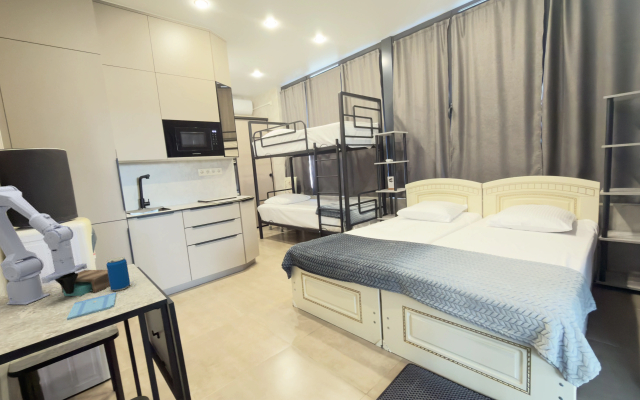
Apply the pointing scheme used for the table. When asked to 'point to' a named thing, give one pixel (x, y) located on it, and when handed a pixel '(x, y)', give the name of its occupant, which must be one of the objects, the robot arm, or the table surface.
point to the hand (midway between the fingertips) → (69, 293)
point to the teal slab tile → (80, 289)
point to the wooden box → (94, 279)
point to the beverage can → (118, 273)
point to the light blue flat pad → (92, 306)
